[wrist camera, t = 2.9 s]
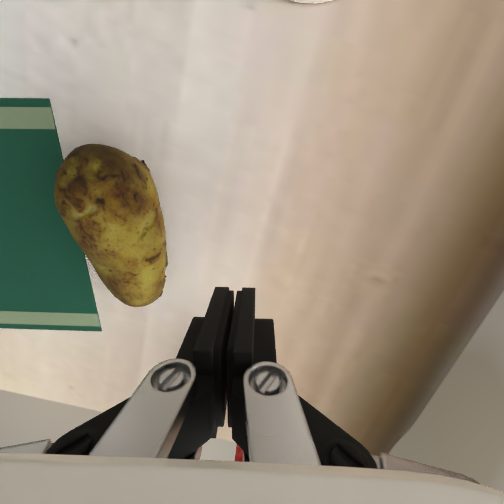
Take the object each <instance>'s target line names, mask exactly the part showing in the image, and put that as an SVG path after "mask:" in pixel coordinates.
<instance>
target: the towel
mask: <svg viewBox="0 0 504 504" xmlns="http://www.w3.org/2000/svg"><path fill="white" fill-rule="evenodd" d="M62 163H63V157H62V152H61V148H60V143H59V139H58V135H57V130H56V126H55V121H54V117H53V112H52V108H51V103H50V99H38V98H0V328H14V329H46V330H77V331H102V330H101V325H100V321H99V316H98V312H97V308H96V303H95V299H94V294H93V290H92V285H91V281H90V277H89V272H88V268H87V263H86V259H85V254H84V252H83V251H82V249H81V248H80V247H79V245H78V244H77V243H76V241H75V239H74V238H73V237H71V233H70V231H69V229H68V227H67V225H66V224H65V222H64V221H63V219H62V217H61V215H60V213H59V211H58V209H57V206H56V204H55V197H54V188H55V180H56V172H57V170H58V169H59V167H60V166H61V164H62Z"/></svg>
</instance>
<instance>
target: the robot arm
mask: <svg viewBox="0 0 504 504" xmlns="http://www.w3.org/2000/svg"><path fill="white" fill-rule="evenodd" d="M291 1H295V2H298V3H313V4H317V3H322V2H328V1H333V0H291ZM227 404H228V427H232V439H233V440H234V441H235V442H236V443H237V445H238V446H239V447H240V448H241V449H242V450H243V462H237V461H214V460H199V459H200V455H201V450H202V445H203V444H204V443H205V442H207V441H208V440H209V439H210V438H216V434H217V428H218V427H223V426H224V420H225V413H226V405H227ZM0 504H504V492H502V491H500V490H497V489H494V488H490V487H487V486H483V485H481V484H479V483H478V482H476V481H475V480H474V479H472V478H469V477H467V476H464V475H462V474H459V473H455V472H452V471H447V470H444V469H441V468H437V467H433V466H429V465H426V464H422V463H418V462H414V461H411V460H407V459H403V458H400V457H396V456H392V455H389V454H385V453H381V454H380V457H378V456H374V455H371V454H370V453H369V451H368V450H367V449H366V448H365V447H364V446H363V445H362V444H360V443H359V442H358V441H357V440H355V439H354V438H353V437H351V436H350V435H349V434H348V433H346V432H345V431H344V430H342V429H341V428H340V427H339V426H337V425H336V424H335V423H333V422H332V421H331V420H329V419H328V418H327V417H326V416H324V415H323V414H322V413H320V412H319V411H318V410H317V409H315V408H314V407H313V406H311V405H310V404H309V403H308V402H306V401H305V400H304V399H302V398H301V397H300V396H298V394H297V391H296V388H295V385H294V382H293V379H292V376H291V374H290V373H289V371H288V370H287V369H286V368H285V367H283V366H281V365H280V364H278V363H277V362H276V349H275V336H274V323H273V319H255V288H242V291H237V295H236V301H235V306H234V291H229V287H215V290H214V292H213V295H212V298H211V301H210V304H209V307H208V309H207V312H206V315H205V317H194V318H193V319H192V322H191V324H190V326H189V329H188V331H187V333H186V336H185V338H184V341H183V343H182V345H181V348H180V350H179V352H178V355H177V357H176V359H170V360H166V361H163V362H161V363H159V364H157V365H156V366H154V367H153V368H152V369H151V370H150V371H149V372H148V374H147V375H146V377H145V378H144V379H143V381H142V382H141V384H140V385H139V386H138V388H137V389H136V390H135V392H134V393H133V395H132V396H131V397H130V398H128V399H126V400H125V401H123V402H121V403H119V404H117V405H116V406H114V407H112V408H110V409H108V410H107V411H105V412H103V413H101V414H100V415H98V416H96V417H94V418H92V419H91V420H89V421H87V422H85V423H84V424H82V425H80V426H78V427H76V428H75V429H73V430H71V431H69V432H68V433H66V434H65V435H63V436H62V437H60V438H59V439H58V440H57V441H56V442H55V443H51V441H50V439H47V440H41V441H36V442H30V443H25V444H19V445H14V446H8V447H3V448H0Z"/></svg>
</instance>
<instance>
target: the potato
mask: <svg viewBox="0 0 504 504" xmlns="http://www.w3.org/2000/svg"><path fill="white" fill-rule="evenodd" d="M149 171H150V170H149V169H148V167H147V166H146V164H145V162H144V160H142V161H139V160H138V159H137V158H135V157H131V156H130V155H128V154H127V153H125V152H123V151H121V150H119V149H116V148H113V147H110V146H105V145H100V144H87V145H82V146H80V147H78V148H75V149H74V150H73V151H72V152H71V153H69V155H68V156H67V157H66V158H65V160H64V161H63V163H62V164H61V166H60V167H59V169H58V170H57V172H56V180H55V188H54V197H55V204H56V206H57V209H58V211H59V213H60V215H61V217H62V219H63V221H64V222H65V224H66V225H67V227H68V229H69V231H70V233H71V237H73V238H74V239H75V241H76V243H77V244H78V245H79V247H80V248H81V249H82V251H83V252H84V254H85V255H86V256H87V257H88V259H89V260H90V262H91V263H92V265H93V267H94V268H95V270H96V272H97V274H98V275H99V277H100V279H101V280H102V282H103V283H104V284H105V286H106V287H107V288H108V289H109V290H110V292H111V293H112V294H113V295H114V296H115V297H116V298H118V299H119V300H120V301H121V302H123V303H124V304H126V305H129V306H132V307H141V306H146V305H148V304H150V303H152V302H154V301H155V300H156V299H158V297H160V296H161V295H162V293H163V288H164V284H165V277H166V276H165V267H167V265H168V262H167V252H166V240H165V227H164V220H163V216H162V212H161V208H160V204H159V199H158V194H157V191H156V187H155V184H154V182H153V179H152V177H151V174H150V172H149Z"/></svg>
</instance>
